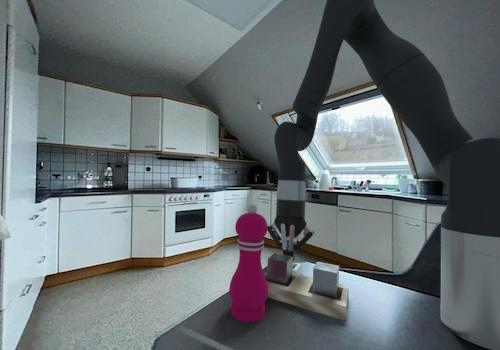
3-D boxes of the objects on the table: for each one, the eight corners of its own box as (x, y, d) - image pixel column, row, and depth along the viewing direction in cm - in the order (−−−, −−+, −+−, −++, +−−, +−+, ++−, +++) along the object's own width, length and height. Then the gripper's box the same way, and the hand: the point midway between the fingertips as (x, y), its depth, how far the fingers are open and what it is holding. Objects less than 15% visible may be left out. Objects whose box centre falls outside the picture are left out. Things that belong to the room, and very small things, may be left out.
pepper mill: (268, 328, 36) (273, 207, 36) (225, 326, 36) (231, 205, 37) (266, 304, 43) (270, 203, 44) (230, 302, 43) (234, 202, 44)
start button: (295, 272, 57) (295, 263, 57) (292, 276, 54) (292, 266, 55) (285, 270, 58) (285, 261, 58) (281, 273, 56) (282, 264, 56)
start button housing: (300, 275, 57) (301, 264, 57) (295, 283, 53) (296, 270, 53) (282, 271, 60) (282, 260, 60) (275, 278, 55) (276, 266, 55)
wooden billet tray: (348, 300, 46) (348, 286, 46) (345, 324, 38) (345, 306, 38) (269, 279, 54) (270, 267, 54) (253, 295, 46) (254, 281, 46)
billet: (338, 300, 44) (339, 265, 45) (336, 310, 40) (336, 273, 41) (316, 294, 46) (317, 261, 47) (312, 304, 43) (313, 268, 43)
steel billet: (291, 287, 49) (292, 256, 49) (285, 296, 45) (287, 262, 45) (273, 282, 51) (274, 253, 51) (266, 290, 47) (267, 258, 47)
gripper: (319, 199, 57) (316, 265, 57) (272, 195, 64) (270, 255, 63) (313, 200, 51) (311, 275, 50) (262, 196, 57) (259, 263, 56)
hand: (288, 263), depth 56 cm, fingers closed
